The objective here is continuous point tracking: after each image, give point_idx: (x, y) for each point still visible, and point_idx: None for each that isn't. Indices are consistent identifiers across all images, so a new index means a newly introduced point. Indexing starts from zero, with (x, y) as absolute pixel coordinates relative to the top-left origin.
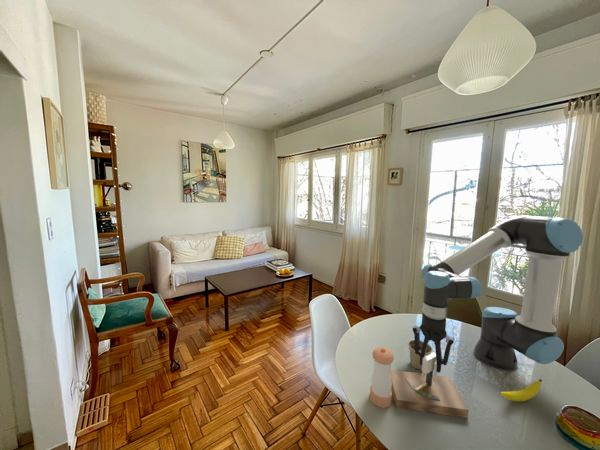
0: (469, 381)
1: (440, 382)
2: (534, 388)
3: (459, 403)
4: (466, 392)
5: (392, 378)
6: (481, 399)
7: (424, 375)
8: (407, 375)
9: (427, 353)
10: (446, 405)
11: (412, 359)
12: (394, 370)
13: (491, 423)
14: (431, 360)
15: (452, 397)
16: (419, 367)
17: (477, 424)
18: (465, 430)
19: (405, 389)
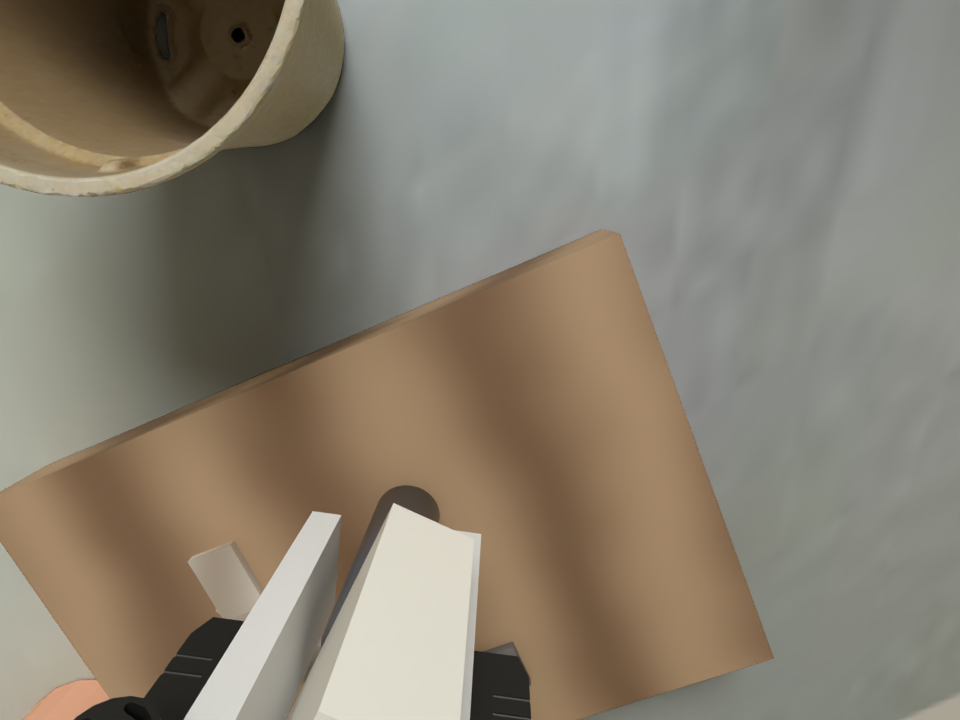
0: (848, 6)
1: (524, 409)
2: None
3: (702, 622)
4: (778, 258)
5: (70, 621)
6: (911, 284)
7: (334, 592)
8: (179, 493)
9: (244, 124)
10: (587, 705)
11: (124, 122)
12: (31, 490)
13: (917, 553)
14: None
15: (643, 575)
16: (264, 145)
17: (802, 619)
18: (706, 714)
19: None
